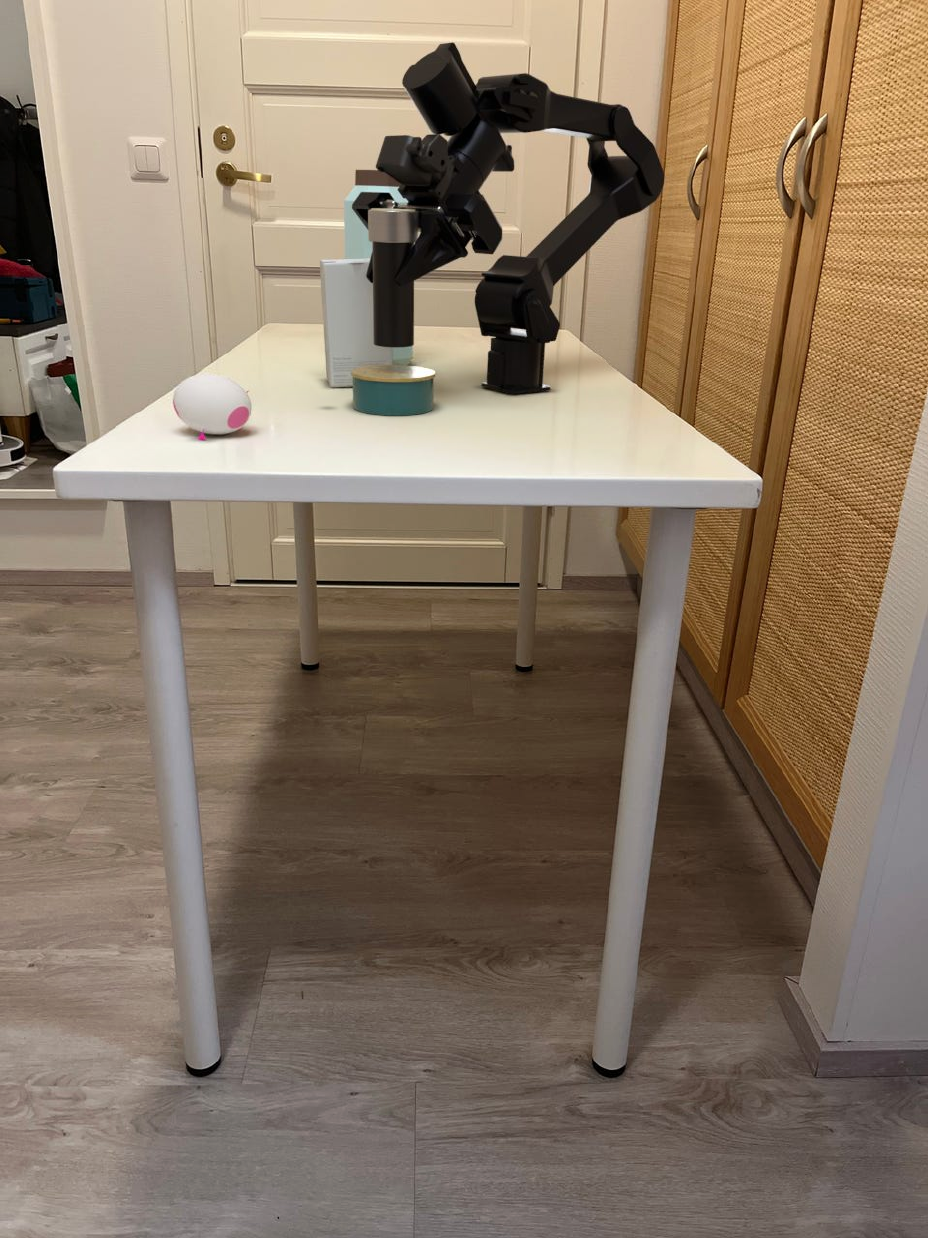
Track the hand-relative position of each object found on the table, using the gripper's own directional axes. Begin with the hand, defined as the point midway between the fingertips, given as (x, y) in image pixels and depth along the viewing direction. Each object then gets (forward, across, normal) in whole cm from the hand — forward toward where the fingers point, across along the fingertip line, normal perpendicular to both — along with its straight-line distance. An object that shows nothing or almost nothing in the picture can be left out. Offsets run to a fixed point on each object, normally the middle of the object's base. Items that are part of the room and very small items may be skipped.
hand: (383, 281), depth 100 cm
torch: (+4, 0, +6) cm, 7 cm away
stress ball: (+24, -1, -5) cm, 25 cm away
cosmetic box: (+4, -14, +15) cm, 21 cm away
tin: (+8, 0, +11) cm, 14 cm away
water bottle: (-5, -26, +25) cm, 36 cm away
